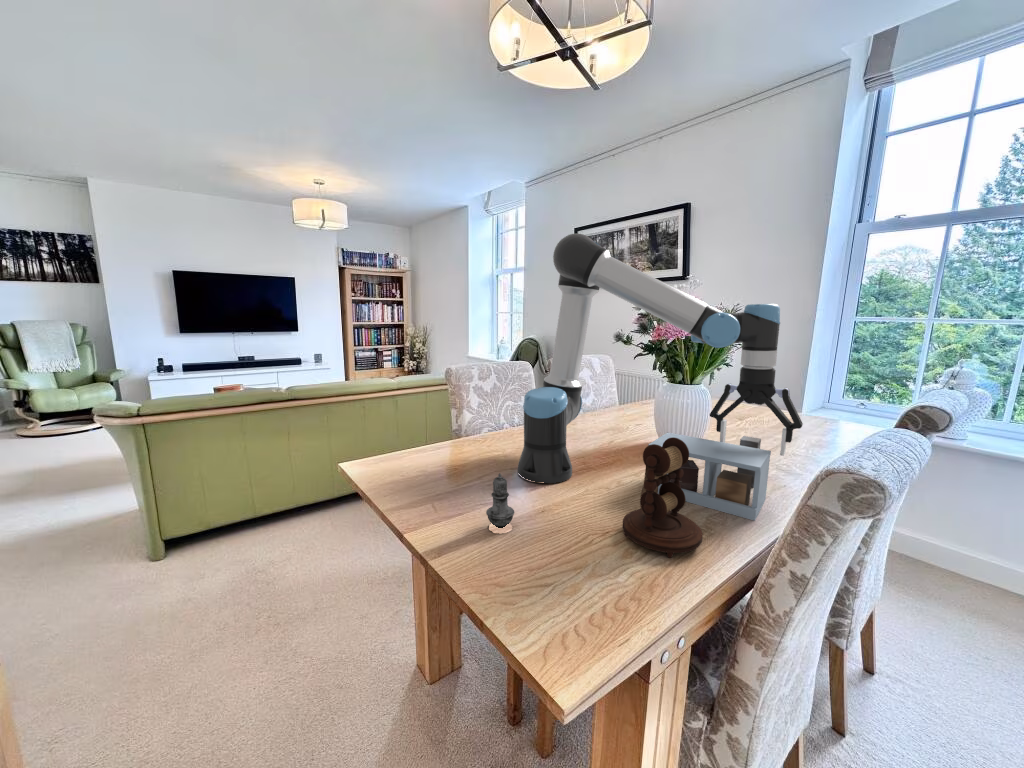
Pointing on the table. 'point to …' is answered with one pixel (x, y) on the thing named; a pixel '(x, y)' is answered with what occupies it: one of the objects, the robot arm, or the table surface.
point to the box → (689, 476)
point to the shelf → (714, 459)
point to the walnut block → (737, 479)
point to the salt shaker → (500, 504)
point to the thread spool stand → (663, 503)
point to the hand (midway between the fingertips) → (751, 449)
